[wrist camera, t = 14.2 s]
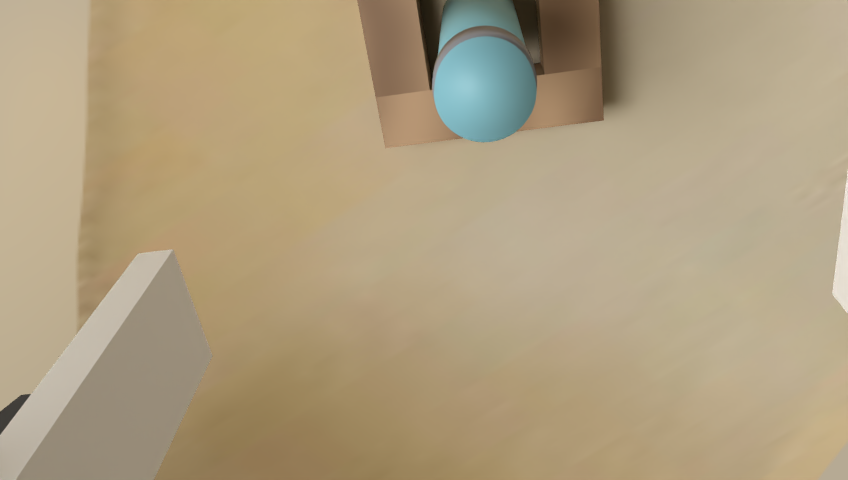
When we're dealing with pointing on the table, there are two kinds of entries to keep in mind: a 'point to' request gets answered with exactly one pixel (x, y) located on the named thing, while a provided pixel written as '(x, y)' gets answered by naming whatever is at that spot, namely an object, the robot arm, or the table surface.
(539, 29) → the square hole plate
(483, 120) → the banded teal cylinder
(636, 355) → the table surface
